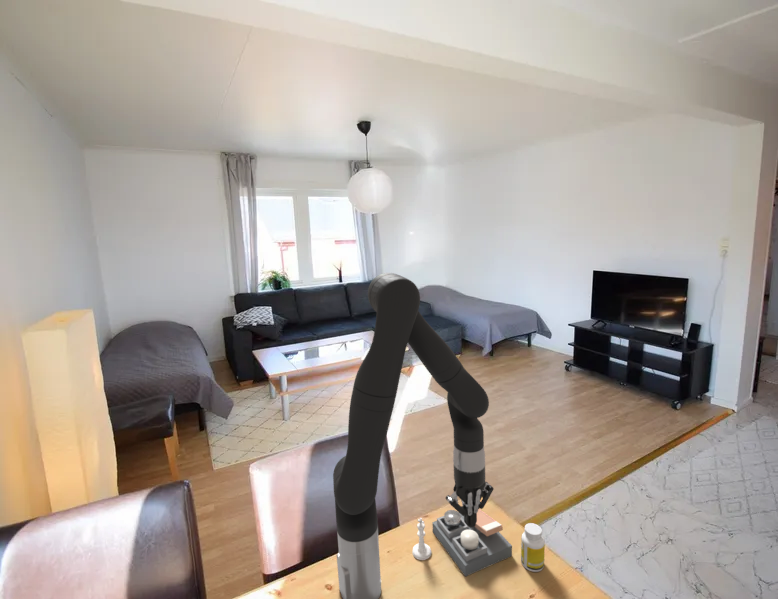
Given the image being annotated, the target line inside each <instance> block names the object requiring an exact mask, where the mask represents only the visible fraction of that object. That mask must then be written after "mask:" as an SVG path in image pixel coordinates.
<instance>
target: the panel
mask: <svg viewBox="0 0 778 599" xmlns="http://www.w3.org/2000/svg"><path fill="white" fill-rule="evenodd" d="M460 515H461V514H460ZM431 523H432V524H431V525H432V533H433V535H434V536H435V537H436V539H437V540H438V541H439V543H440V544H441V545H442V547H443V548H444V550H445V551H446V552H447V553H448V555H449V557H450V558H451V559H452V560H453V562H454V563H455V564H456V566H457V567H458V569H459V570H460V571H461V573H462V574H463V576H464V577H467V576H470V575H472V574H474V573H477V572H479V571H481V570H483V569H485V568H488V567H490V566H492V565H495V564H497V563H500V562H501V561H503V560H506V559H508V558H511V557H512V556H513V545H512V544H511V543H510V542H509V540H508V539H506V537H504V535H503V534H502V533H501V532H500V531H499V532H497V533H494V534H492V535H489V536H486V535H484V534H483V533H482V532H481V531H480V530H478V529H477V528H476V527H475V526H474V527H471V528H470V527H469V526H467V525H466V523H465V522H464V516H462V515H461V525H460V526H459V527H457V528H449V527H447V526H446V525H445V523H444V515H443V516H439V517H437V518H436V520H435V521H432V522H431ZM464 530H473V531H475V532H476V533H477V534H478V536H479V545H478V547H477V548H476V549H474V550H468V549H465V548H464V547H463V546H462V545H461V533H462V531H464Z"/></svg>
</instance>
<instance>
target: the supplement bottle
mask: <svg viewBox="0 0 778 599" xmlns="http://www.w3.org/2000/svg"><path fill="white" fill-rule="evenodd" d="M520 545H521V546H520V558H521V559H520V563H521V564H522V566H523V567H524V569H526V570H528V572H529V571H530V572H533V573H538V572H541V571H542V570H543V569H544V567H545V552H546V551H545V548H546V547H545V546H546V544H545V538H544V536H543V529H542V527H541V526H540V525H538V524H536V523H533V522H529V523H526V524H525V525H524V531H523V533H522V534H521V543H520Z"/></svg>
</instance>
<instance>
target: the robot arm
mask: <svg viewBox="0 0 778 599" xmlns="http://www.w3.org/2000/svg"><path fill="white" fill-rule="evenodd" d="M367 298H368V302H369V304H370V306H371V308H372V309H373V310H374V312H375V313H376V314H375V315H376V317H375V325H374V332H373V338H372V342H371V345H370V347H369V350H368V351H367V353H366V355H365V357H364V359H363V360H362V362H361V364H360V365H359V368H358V370H357V371H356V375H355V378H354V381H353V386H352V391H351V396H350V403H349V412H348V428H347V432H348V433H347V449H346V455H344V456H342V458H340V459H339V460H338V462H337V463H336V464H335V467H334V470H333V472H332V473H333V474H332V479H333V484H332V485H333V495H334V503H335V504H334V507H335V522H336V533H337V546H338V553H337V554H336V562H337V563H336V564H337V577H338V588H339V592H340V595H341V598H342V599H380V597H381V593H382V579H381V577H382V576H381V561H380V558H381V557H380V544H379V541H380V540H379V522H378V521H379V520H378V510H377V501H376V497H377V494H378V493H377V492H378V483H379V474H380V466H381V464H380V463H381V458H382V452H383V449H384V445H385V441H386V438H387V436H388V435H387V434H388V431H389V427H390V423H391V418H392V414H393V410H394V408H395V407H394V406H395V402H396V398H397V394H398V388H399V383H400V378H401V373H402V370H403V364H404V361H405V360H404V359H405V353H406V349H407V345H409V347H410V348H411V349H412V351H413V352H414V354H415V355H416V357H417V358H418V359H419V360H420V362H421V363H422V364H423V366H424V367H425V369H426V370H427V372H428V373H429V375H431V377H432V378H433V379H434V380H435V382H436V383H437V385H439V386H440V387H441V388H442V389H443V390H445V391H446V392H447V395H446V402H447V407H448V412H449V415H450V419H451V420H450V421H451V423H452V426H453V451H452V453H453V454H452V455H453V456H452V457H453V458H452V463H453V480H454V486H453V488H452V489H453V490H452V491H453V492H452V493H451V494H450V495H449V494H448V495H446V496H445V500H446V501H447V502H448V503H449V504H450V506H451V507H452V508H453V509H454V510H455V511H457V512H459V513H460V514H461V515H462V516H464V522H465V523H466V525H467V526H469V527H470V528H471V527H474V526H475V525H476V524H475V523H476V522H477V512H478V509H481V510H483V509H484V507H485V506H486V504H487V502H488V501H489V499H490V497H491V495H492V493H493V492H494V490H495V489H494V486H492V485H491V483H489V482H487V481H486V451H485V446H484V443H485V442H484V441H485V440H484V438H485V436H484V434H485V432H484V427H483V424H482V422H481V421H480V419H479V418H481V417H483V416H484V415H485V414H486V413H487V412H488V409H489V406H490V399H489V396H488V394H487V392H486V391H485V388H483V386H482V385H481V384H480V383H479V382H478V380H476V379H475V378H474V377H473V376H472V374H470V373H469V372H468V371H467V370H466V369H465V367H464V365H463V364H462V362H461V361H460V360H459V358H458V357H457V355H456V354H455V353H454V351H453V350H452V349H451V347H450V346H449V345H448V344H447V343H446V341H445V340H444V339H443V338H442V337H441V336H440V335H439V334H438V333H437V332H436V331H435V329H434V328H433V327H432V326H431V325H430V324H429V322H427V321H426V319H425V318H424V317H423V315H422V314H421V312H420V310H419V309H420V305H421V295H420V291H419V288H418V286H417V285H416V283H414V281H412V280H410V279H408V278H407V277H404V276H402V275H399V274H397V273H392V272H386V273H381V274H379V275H377V276H375V277H374V278H373V279H372V280H371V282H370V284H369V286H368V289H367ZM458 498H459V499H460V501H461V505H460V504H459V502H458V501H459V499H458Z"/></svg>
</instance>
